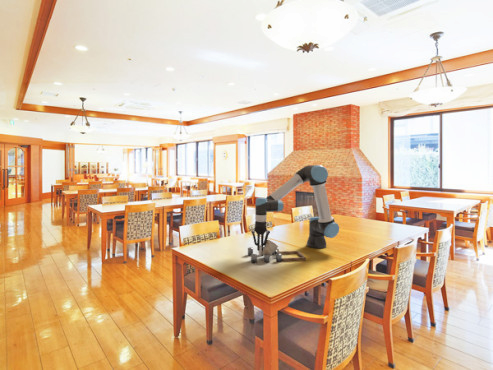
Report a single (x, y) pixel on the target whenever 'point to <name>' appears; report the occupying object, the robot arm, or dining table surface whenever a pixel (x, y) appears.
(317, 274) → the dining table surface
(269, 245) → the mug
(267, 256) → the spacer field
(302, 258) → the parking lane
